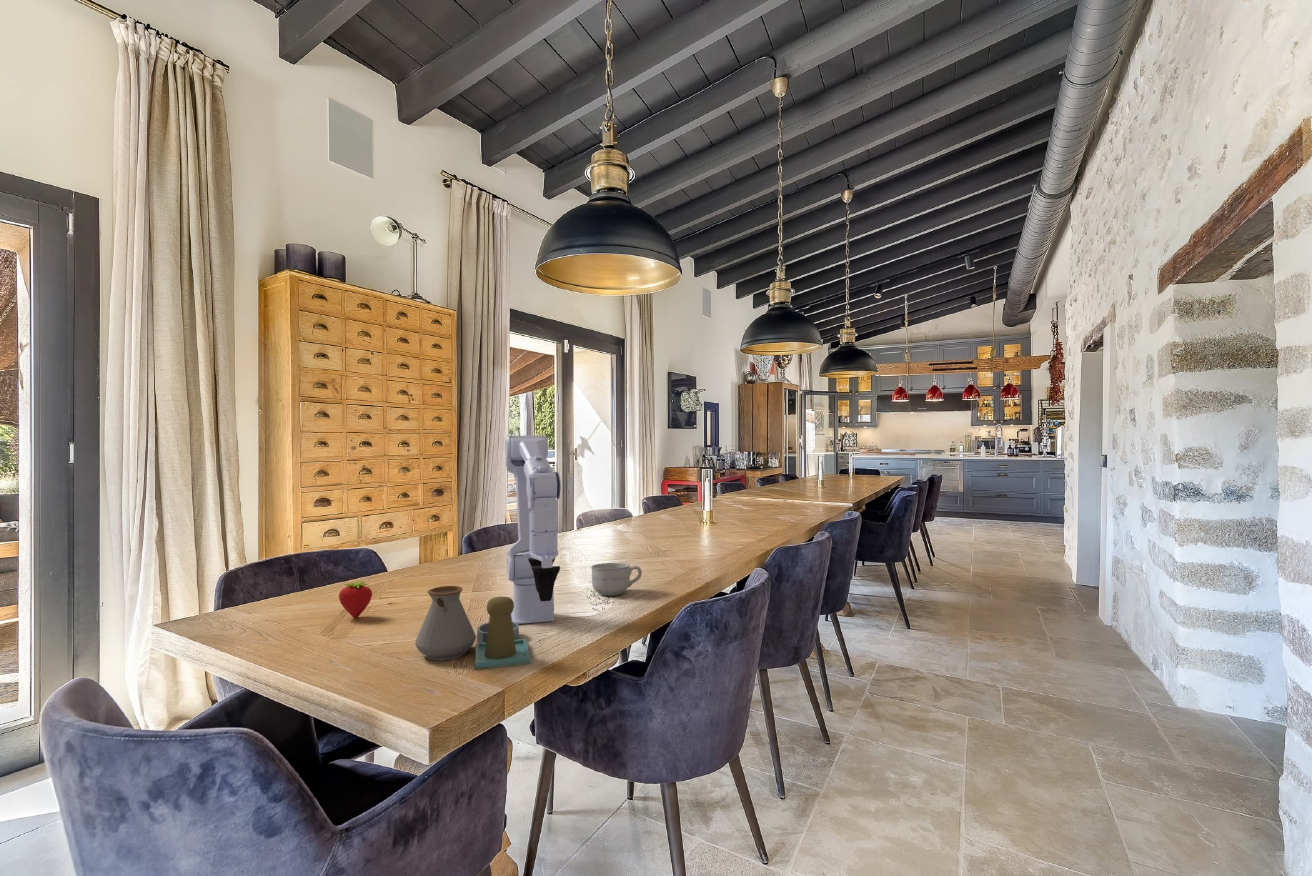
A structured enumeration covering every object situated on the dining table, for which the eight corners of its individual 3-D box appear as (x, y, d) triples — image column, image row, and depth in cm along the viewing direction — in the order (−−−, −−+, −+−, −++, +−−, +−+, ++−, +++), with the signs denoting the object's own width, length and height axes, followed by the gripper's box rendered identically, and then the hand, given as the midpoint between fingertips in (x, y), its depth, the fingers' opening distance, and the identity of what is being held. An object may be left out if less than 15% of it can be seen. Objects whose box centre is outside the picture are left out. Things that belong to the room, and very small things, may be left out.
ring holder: (517, 630, 135) (517, 619, 135) (519, 643, 127) (519, 631, 127) (477, 634, 133) (477, 622, 133) (477, 647, 124) (476, 635, 124)
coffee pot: (419, 646, 125) (419, 574, 125) (476, 641, 128) (476, 571, 128) (403, 687, 105) (403, 601, 104) (472, 680, 107) (472, 596, 107)
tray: (525, 644, 126) (525, 638, 126) (529, 663, 116) (529, 657, 115) (475, 649, 123) (475, 643, 123) (475, 669, 113) (475, 662, 113)
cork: (521, 649, 121) (521, 595, 121) (505, 660, 115) (505, 603, 115) (495, 646, 123) (495, 592, 123) (478, 657, 117) (478, 600, 117)
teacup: (586, 597, 163) (586, 568, 163) (597, 587, 174) (597, 560, 174) (637, 599, 161) (637, 569, 161) (644, 589, 171) (644, 561, 171)
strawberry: (345, 614, 148) (345, 573, 148) (376, 613, 148) (376, 573, 148) (333, 621, 142) (333, 579, 142) (365, 621, 142) (365, 578, 142)
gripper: (521, 526, 131) (521, 588, 131) (526, 536, 117) (526, 606, 117) (554, 524, 133) (554, 586, 133) (562, 535, 119) (563, 604, 119)
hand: (543, 595), depth 125 cm, fingers open, 7 cm apart
